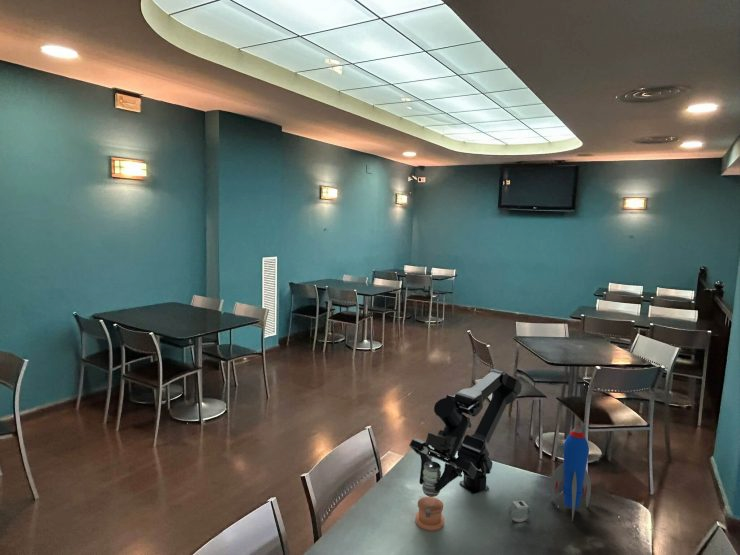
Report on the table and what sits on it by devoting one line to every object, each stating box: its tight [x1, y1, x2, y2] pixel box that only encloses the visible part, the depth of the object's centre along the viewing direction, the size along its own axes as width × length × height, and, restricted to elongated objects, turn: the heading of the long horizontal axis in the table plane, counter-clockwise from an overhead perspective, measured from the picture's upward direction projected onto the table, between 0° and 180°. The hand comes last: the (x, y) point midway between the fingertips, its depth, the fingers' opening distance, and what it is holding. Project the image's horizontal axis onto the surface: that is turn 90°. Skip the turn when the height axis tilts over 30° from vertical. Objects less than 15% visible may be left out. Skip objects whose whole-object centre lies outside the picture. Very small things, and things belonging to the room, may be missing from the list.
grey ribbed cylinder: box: [421, 460, 442, 498], centre depth 120 cm, size 5×5×8 cm
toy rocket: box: [549, 424, 592, 522], centre depth 125 cm, size 11×10×25 cm
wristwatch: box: [507, 500, 532, 523], centre depth 122 cm, size 6×3×5 cm, turn 101°
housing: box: [415, 496, 445, 532], centre depth 121 cm, size 8×8×5 cm
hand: (428, 487), depth 119 cm, fingers closed on grey ribbed cylinder, 5 cm apart
